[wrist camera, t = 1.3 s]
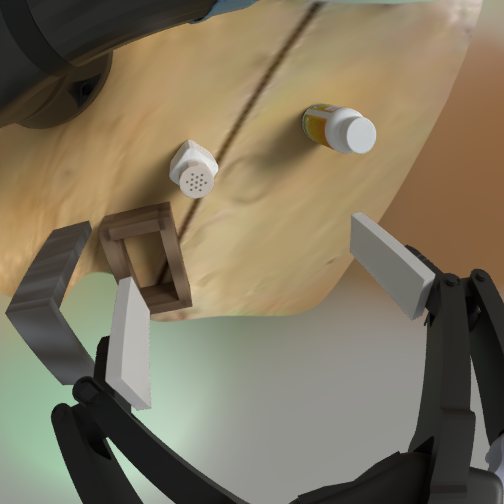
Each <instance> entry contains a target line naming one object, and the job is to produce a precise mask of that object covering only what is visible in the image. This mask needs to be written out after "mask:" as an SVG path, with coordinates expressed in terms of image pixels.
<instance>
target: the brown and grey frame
mask: <svg viewBox="0 0 504 504" xmlns="http://www.w3.org/2000/svg"><path fill="white" fill-rule="evenodd" d="M91 231H92V229H91V226H90V223H89V221H85V222H82V223H78V224H74V225H71V226H67V227H63V228H60V229H56V230H53V231H52V233H51V234H50V236H49V237H48V239H47V240H46V242H45V243H44V245H43V246H42V248H41V250H40V251H39V253H38V254H37V256H36V257H35V259H34V261H33V262H32V264H31V266H30V267H29V269H28V271H27V273H26V274H25V276H24V278H23V280H22V281H21V283H20V285H19V287H18V289H17V291H16V292H15V294H14V296H13V298H12V300H11V302H10V304H9V306H8V308H7V310H6V312H5V314H6V315H7V317H8V318H9V320H10V321H11V323H12V324H13V326H14V327H15V328H16V330H17V331H18V333H19V334H20V335H21V336H22V338H23V339H24V341H25V342H26V343H27V344H28V346H29V347H30V348H31V350H32V351H33V352H34V353H35V355H36V356H37V357H38V358H39V359H40V361H41V362H42V363H43V364H44V365H45V366H46V368H47V369H48V370H49V371H50V372H51V373H52V374H53V375H54V376H55V378H56V379H57V380H58V381H59V382H60V383H61V384H62V385H74V384H75V383H76V381H77V380H78V379H80V378H81V377H84V376H91V377H92V378H93V375H94V366H95V362H94V361H93V359H92V358H91V356H90V355H89V354H88V352H87V351H86V350H85V348H84V347H83V345H82V344H81V342H80V341H79V340H78V338H77V337H76V335H75V334H74V332H73V331H72V329H71V328H70V326H69V325H68V323H67V321H66V320H65V318H64V317H63V315H62V313H61V312H60V310H59V308H60V305H61V302H62V299H63V297H64V294H65V291H66V289H67V286H68V284H69V281H70V279H71V276H72V274H73V271H74V269H75V266H76V264H77V262H78V259H79V257H80V255H81V253H82V250H83V248H84V246H85V244H86V242H87V240H88V238H89V236H90V233H91ZM155 231H160V234H161V237H162V241H163V245H164V249H165V252H166V256H167V260H168V263H169V267H170V270H171V274H172V277H173V281H174V282H170V283H165V284H160V285H155V286H150V287H145V288H140V286H139V283H138V280H137V278H136V275H135V272H134V270H133V267H132V264H131V261H130V258H129V256H128V253H127V250H126V247H125V244H124V241H123V238H128V237H132V236H137V235H141V234H146V233H151V232H155ZM97 233H98V236H99V239H100V241H101V244H102V247H103V249H104V252H105V255H106V257H107V260H108V262H109V265H110V267H111V270H112V272H113V275H114V277H115V279H116V282H117V284H118V285H119V280H121V279H124V278H128V277H131V276H132V278H133V280H134V282H135V284H136V286H137V288H138V290H139V292H140V294H141V296H142V298H143V299H144V301H145V303H146V305H147V307H148V309H149V310H150V314H156V313H161V312H167V311H172V310H177V309H182V308H187V307H192V299H191V292H190V285H189V281H188V278H187V274H186V270H185V266H184V262H183V258H182V254H181V249H180V245H179V241H178V237H177V232H176V228H175V223H174V219H173V214H172V209H171V205H170V202H166V203H161V204H157V205H152V206H147V207H143V208H138V209H134V210H130V211H125V212H121V213H117V214H113V215H109V216H105V217H104V219H103V222H102V224H101V226H100V228H99V230H98V232H97Z"/></svg>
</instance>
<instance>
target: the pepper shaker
mask: <svg viewBox="0 0 504 504" xmlns="http://www.w3.org/2000/svg"><path fill="white" fill-rule="evenodd" d="M217 171H218V165H217V163H216V161H215V160H214V158H213V156H212V154H211V153H210V152H208V151H207V150H205V149H204V148H202V147H201V146H199V145H198V144H196V143H195V142H193V141H192V140H186V141H185V142H184V143H183V145H182V146H181V147H180V149H179V150H178V151H177V153H176V154H175V156H174V157H173V159H172V160H171V163H170V173H169V177H170V179H171V180H172V181H173V182H175V183H176V184H178V185H179V186H180V190H181V191H182V192H183V193H184V194H185V195H186V196H187V197H191V198H194V199H196V198H201V197H204V196H205V195H207V194H208V193H209V192H210V191H211V189H212V187H213V184H214V180H213V177H214V176H215V174H216V173H217Z"/></svg>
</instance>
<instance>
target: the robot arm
mask: <svg viewBox="0 0 504 504" xmlns="http://www.w3.org/2000/svg"><path fill="white" fill-rule="evenodd" d="M257 1H259V0H0V128H1V127H4V126H7V125H10V124H13V123H17V124H20V125H22V126H24V127H27V128H32V129H45V128H50V127H54V126H57V125H60V124H62V123H65V122H67V121H69V120H71V119H73V118H74V117H76V116H77V115H79V114H80V113H81V112H83V111H84V110H85V109H86V108H87V107H88V106H89V105H90V104H91V103H92V102H93V101H94V99H95V98H96V97H97V95H98V94H99V92H100V91H101V89H102V88H103V86H104V84H105V82H106V80H107V77H108V75H109V72H110V68H111V64H112V57H113V50H115V49H117V48H120V47H122V46H124V45H126V44H129V43H131V42H134V41H136V40H139V39H141V38H144V37H146V36H149V35H152V34H154V33H157V32H160V31H163V30H166V29H169V28H172V27H175V26H179V25H182V24H185V23H190V24H195V23H200V22H203V21H205V20H206V19H208V18H210V17H212V16H215V15H219V14H223V13H227V12H232V11H236V10H240V9H244V8H247V7H249V6H251V5H253V4H254V3H255V2H257ZM350 253H351V254H352V255H353V256H354V257H355V258H356V259H357V260H358V261H359V262H360V263H361V264H362V265H363V266H364V268H365V269H366V270H367V271H368V272H369V273H370V274H371V275H372V276H373V277H374V278H375V280H376V281H377V282H378V283H379V284H380V285H381V286H382V287H383V288H384V290H385V291H386V292H387V293H388V294H389V295H390V296H391V298H392V299H393V300H394V301H395V302H396V303H397V304H398V306H399V307H400V308H401V309H402V310H403V311H404V313H405V314H406V315H407V316H408V317H409V318H410V320H411V321H412V320H414V319H416V318H418V317H420V316H422V314H423V311H424V308H425V307H426V308H427V309H428V311H429V312H428V315H427V317H426V320H425V322H424V326H425V325H426V323H427V344H426V346H427V347H426V360H425V372H424V382H423V390H422V397H421V404H420V410H419V417H418V422H417V427H416V431H415V434H414V436H413V438H412V440H411V443H410V446H409V449H408V452H406V453H401V454H400V452H399V451H398V452H396V453H394V454H392V455H391V456H389V457H387V458H385V459H383V460H381V461H380V462H378V463H376V464H375V465H373V466H372V467H371V468H370V469H368V470H367V471H366V472H364V473H363V474H362V475H360V476H359V477H358V478H357V479H355V480H354V481H352V482H347V483H342V484H337V485H331V486H324V487H322V488H319V489H316V490H313V491H310V492H308V493H305V494H302V495H298V498H297V499H295V500H293V501H292V502H290V503H289V504H503V491H504V303H503V301H502V299H501V297H500V295H499V293H498V291H497V289H496V287H495V285H494V283H493V281H492V279H491V277H490V276H489V274H488V273H487V272H485V271H484V270H481V269H474V270H473V271H471V274H470V277H468V278H462V279H460V278H459V277H458V276H456V275H454V274H451V273H445V274H444V273H443V272H441V271H440V270H439V269H438V268H437V267H436V266H434V264H433V263H431V262H430V261H429V260H427V258H426V257H424V256H423V255H422V254H421V253H420V252H419V251H418V250H416V249H415V248H413V247H411V246H408V245H406V246H403V245H401V243H399V242H398V241H397V240H396V239H395V238H393V237H392V236H391V235H390V234H389V233H387V232H386V231H385V230H384V229H382V228H381V227H380V226H379V225H378V224H376V223H375V222H374V221H372V220H371V219H370V218H369V217H367V216H366V215H365V214H364V213H362V212H359V213H356V214H352V215H351V240H350ZM479 308H480V310H479ZM149 323H150V310H149V309H148V307H147V305H146V303H145V301H144V299H143V298H142V296H141V294H140V292H139V290H138V288H137V286H136V284H135V282H134V280H133V278H132V276H131V277H128V278H124V279H121V280H119V285H118V291H117V296H116V301H115V307H114V313H113V320H112V326H111V333H110V336H106V337H102V338H101V340H100V342H99V344H98V346H97V352H96V355H97V356H96V360H95V362H96V363H95V366H94V375H93V378H92V377H91V376H84V377H81V378H80V379H78V380H77V381H76V383H75V384H74V386H73V389H72V395H73V397H74V399H75V400H76V401H78V402H79V404H77V405H74V406H72V407H70V406H69V405H67V404H66V403H61V404H58V405H57V406H55V407H54V409H53V411H52V414H51V421H52V425H53V428H54V432H55V435H56V438H57V441H58V444H59V447H60V450H61V453H62V456H63V459H64V461H65V464H66V466H67V469H68V471H69V474H70V476H71V479H72V481H73V483H74V486H75V488H76V490H77V492H78V494H79V497H80V499H81V501H82V503H83V504H143V502H142V501H141V499H140V498H139V496H138V495H137V493H136V492H135V490H134V488H133V487H132V485H131V484H130V482H129V480H128V479H127V477H126V475H125V474H124V472H123V470H122V468H121V467H120V465H119V463H118V461H117V459H116V458H115V456H114V454H113V452H112V450H111V448H110V446H109V444H108V442H107V440H106V438H107V437H109V439H110V440H111V441H112V442H113V443H114V444H115V445H116V447H117V448H118V449H119V450H120V451H121V452H122V453H123V454H124V456H125V457H126V458H127V459H128V460H129V461H130V462H131V463H132V464H133V465H134V466H135V467H136V468H137V469H138V470H139V471H140V472H141V473H142V474H143V475H144V476H145V477H146V478H147V479H148V480H149V481H150V482H151V483H152V484H154V485H155V486H156V487H157V488H158V489H159V490H160V491H161V492H162V493H164V494H165V495H166V496H167V497H168V498H169V499H171V500H172V501H173V502H174V503H176V504H250V503H248V502H245V501H244V500H242V499H241V498H239V497H237V496H235V495H234V494H232V493H231V492H229V491H228V490H226V489H224V488H223V487H221V486H220V485H218V484H217V483H215V482H214V481H213V480H211V479H210V478H208V477H207V476H205V475H204V474H203V473H201V472H200V471H198V470H197V469H196V468H194V467H193V466H192V465H191V464H189V463H188V462H187V461H185V460H184V459H183V458H182V457H180V456H179V455H178V454H177V453H175V452H174V451H173V450H172V449H171V448H169V447H168V446H167V445H166V444H165V443H163V442H162V441H161V440H160V439H159V438H158V437H157V436H156V435H154V434H153V433H152V432H151V431H150V430H149V429H148V428H147V427H146V426H145V425H144V424H143V423H142V422H141V421H140V420H138V419H137V418H136V417H135V416H134V415H133V414H132V413H131V406H132V407H134V408H135V409H136V410H144V409H150V408H151V392H150V362H149V325H150V324H149ZM470 355H471V358H472V362H473V366H474V370H475V374H476V379H477V383H478V387H479V393H480V398H481V403H482V408H483V415H484V422H485V428H486V434H487V438H488V441H489V445H490V449H489V452H488V453H487V454H486V457H485V460H486V462H487V463H489V468H488V471H486V470H482V469H478V468H474V467H470V462H471V456H472V449H473V441H474V433H475V421H476V416H475V413H474V412H472V411H471V410H470V395H471V358H470Z"/></svg>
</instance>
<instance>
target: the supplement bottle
mask: <svg viewBox="0 0 504 504" xmlns="http://www.w3.org/2000/svg"><path fill="white" fill-rule="evenodd" d="M302 126H303V130H304V132H305V134H306V135H307V136H308V137H309V138H310V139H311V140H313V141H315V142H317V143H320V144H322V145H324V146H327V147H329V148H331V149H333V150H336V151H338V152H341V153H352V152H355V153H358V154H362V153H366V152H368V151H369V150H370V149H371V148H372V147H373V145H374V143H375V140H376V130H375V127H374V125H373V124H372V122H371V121H370V120H368V119H366V118H363V116H362V115H361V114H360V113H358V112H357V111H355V110H353V109H350V108H346V107H340V106H334V105H329V104H315V105H313V106H311V107H309V108H308V109H307V110H306V112H305V114H304V116H303V120H302Z"/></svg>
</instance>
